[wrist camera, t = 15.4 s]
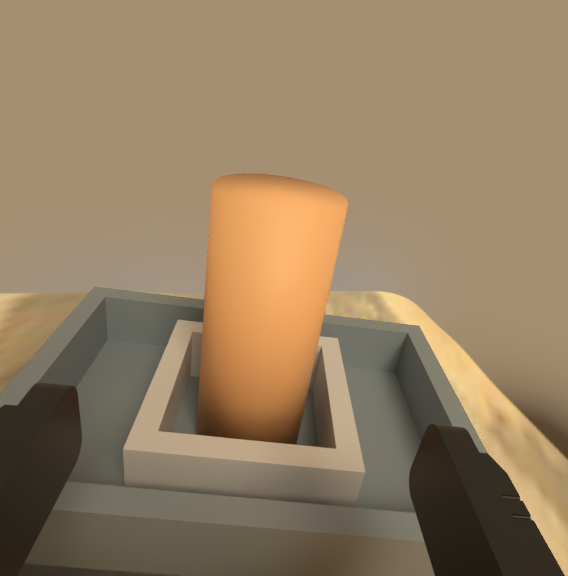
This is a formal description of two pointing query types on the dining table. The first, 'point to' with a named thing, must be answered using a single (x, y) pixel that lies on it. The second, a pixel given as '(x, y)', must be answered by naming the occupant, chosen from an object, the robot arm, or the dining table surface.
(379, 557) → the walled box
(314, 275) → the rounded orange object
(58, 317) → the dining table surface
